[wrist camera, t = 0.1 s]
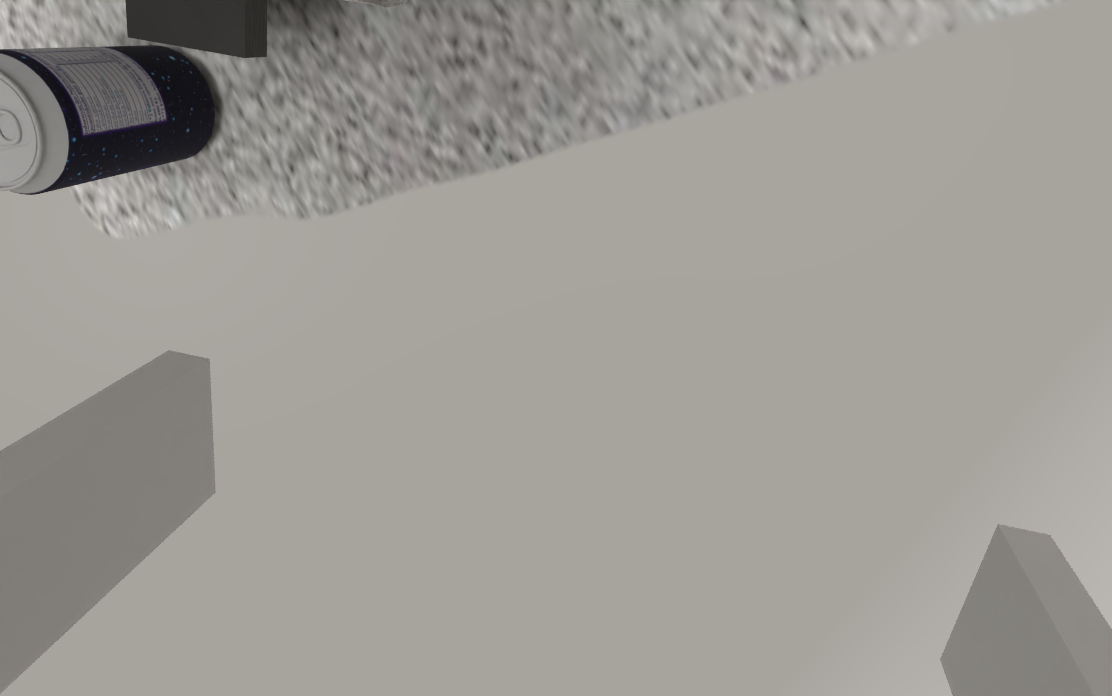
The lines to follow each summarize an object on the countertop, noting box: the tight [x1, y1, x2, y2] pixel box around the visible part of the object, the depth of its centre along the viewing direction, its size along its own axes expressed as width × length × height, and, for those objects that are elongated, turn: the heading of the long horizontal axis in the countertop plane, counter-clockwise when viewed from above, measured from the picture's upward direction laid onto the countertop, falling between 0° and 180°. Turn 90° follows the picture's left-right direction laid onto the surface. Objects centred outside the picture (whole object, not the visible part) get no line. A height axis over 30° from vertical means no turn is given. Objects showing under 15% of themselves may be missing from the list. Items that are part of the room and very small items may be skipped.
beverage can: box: [0, 46, 215, 195], centre depth 37 cm, size 6×6×12 cm
